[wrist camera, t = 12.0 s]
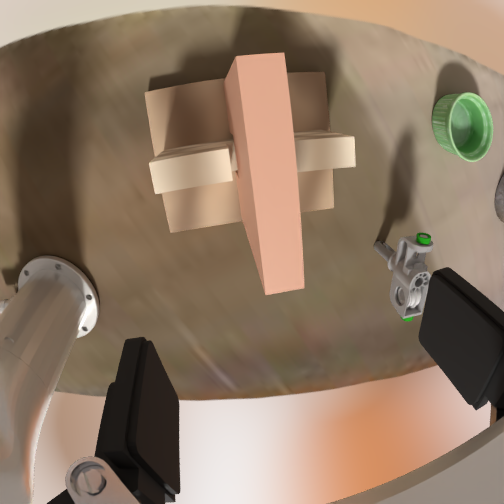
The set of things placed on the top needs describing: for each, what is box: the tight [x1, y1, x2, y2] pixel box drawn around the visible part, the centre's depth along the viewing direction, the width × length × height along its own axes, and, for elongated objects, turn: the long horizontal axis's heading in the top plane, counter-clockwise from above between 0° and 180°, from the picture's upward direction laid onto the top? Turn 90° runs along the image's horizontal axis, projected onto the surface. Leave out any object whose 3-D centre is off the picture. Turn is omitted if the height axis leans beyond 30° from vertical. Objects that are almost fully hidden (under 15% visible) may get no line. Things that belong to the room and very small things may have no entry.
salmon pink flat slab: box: [223, 53, 304, 295], centre depth 23 cm, size 14×2×15 cm, turn 7°
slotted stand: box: [145, 72, 356, 233], centre depth 27 cm, size 18×15×10 cm
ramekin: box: [432, 92, 493, 162], centre depth 31 cm, size 9×9×4 cm
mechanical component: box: [374, 233, 433, 321], centre depth 34 cm, size 3×10×10 cm, turn 3°
